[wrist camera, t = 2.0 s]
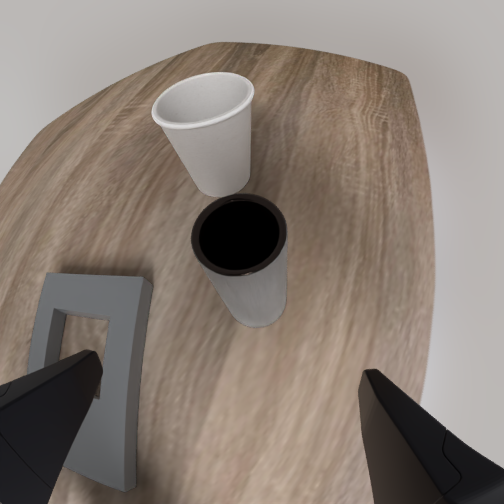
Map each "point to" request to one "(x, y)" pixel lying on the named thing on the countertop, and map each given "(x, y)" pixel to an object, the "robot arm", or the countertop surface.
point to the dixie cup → (210, 129)
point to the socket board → (114, 367)
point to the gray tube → (244, 256)
